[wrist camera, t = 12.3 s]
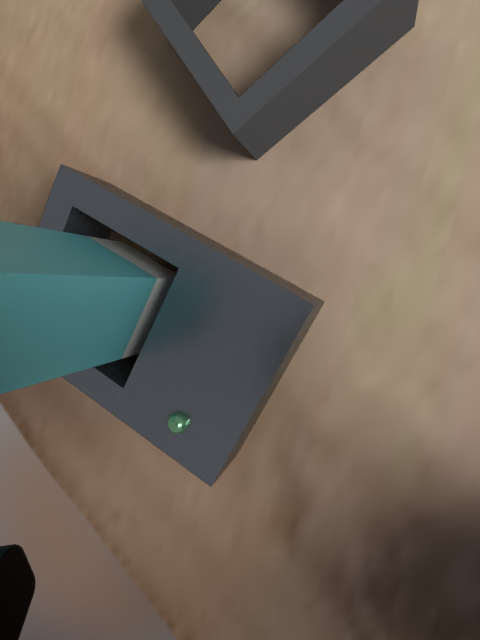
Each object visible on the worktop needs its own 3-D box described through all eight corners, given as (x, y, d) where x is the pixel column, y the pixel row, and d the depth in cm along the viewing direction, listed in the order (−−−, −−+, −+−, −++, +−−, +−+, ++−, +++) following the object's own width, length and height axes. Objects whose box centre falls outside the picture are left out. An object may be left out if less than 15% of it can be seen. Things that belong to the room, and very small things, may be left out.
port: (324, 301, 19) (311, 305, 15) (236, 455, 21) (205, 493, 17) (107, 182, 22) (51, 160, 18) (51, 325, 24) (-10, 332, 20)
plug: (186, 279, 21) (-74, 270, 9) (153, 349, 22) (-120, 429, 10) (123, 242, 22) (-187, 188, 10) (94, 310, 23) (-218, 339, 11)
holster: (414, 26, 17) (424, -39, 13) (256, 160, 19) (232, 134, 16) (303, -116, 17) (287, -209, 14) (167, 31, 20) (128, -19, 17)
